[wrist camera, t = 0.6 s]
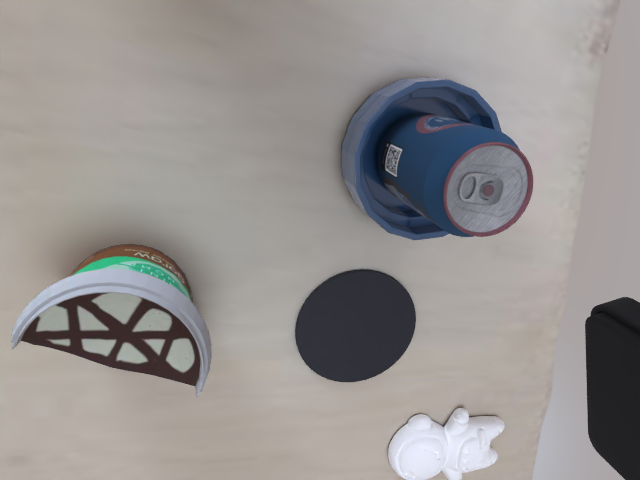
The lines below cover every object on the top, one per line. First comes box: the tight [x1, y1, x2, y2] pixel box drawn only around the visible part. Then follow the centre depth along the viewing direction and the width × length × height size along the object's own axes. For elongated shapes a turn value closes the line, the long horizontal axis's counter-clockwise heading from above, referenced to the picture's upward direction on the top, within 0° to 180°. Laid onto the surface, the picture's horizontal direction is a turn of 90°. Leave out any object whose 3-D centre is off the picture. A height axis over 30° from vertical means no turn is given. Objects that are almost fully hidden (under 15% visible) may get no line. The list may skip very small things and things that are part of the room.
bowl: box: [341, 78, 502, 240], centre depth 40 cm, size 12×12×4 cm
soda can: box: [377, 113, 533, 237], centre depth 36 cm, size 7×7×12 cm
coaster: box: [296, 270, 416, 382], centre depth 46 cm, size 11×11×1 cm
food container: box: [11, 244, 211, 397], centre depth 36 cm, size 12×6×10 cm, turn 64°
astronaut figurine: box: [388, 408, 505, 480], centre depth 52 cm, size 9×12×3 cm
